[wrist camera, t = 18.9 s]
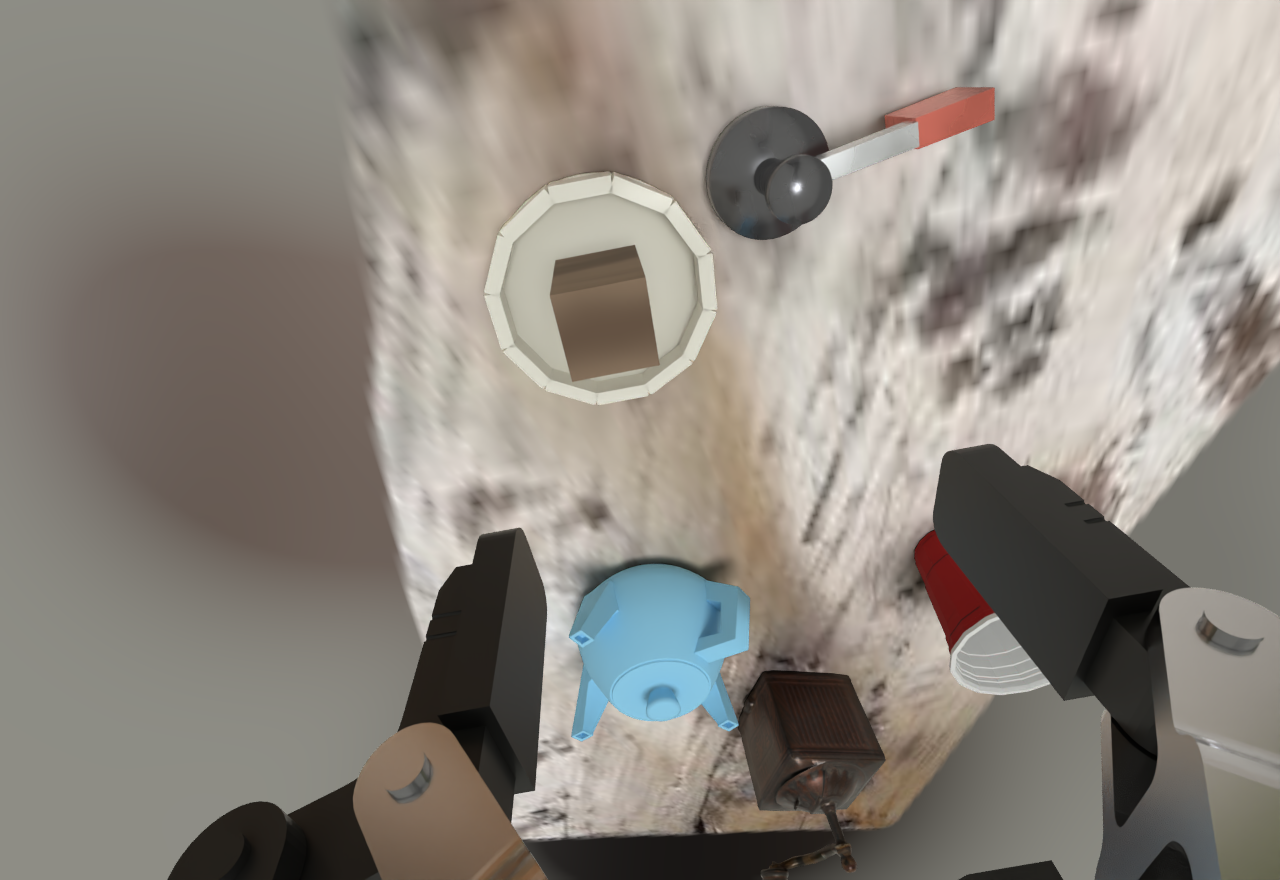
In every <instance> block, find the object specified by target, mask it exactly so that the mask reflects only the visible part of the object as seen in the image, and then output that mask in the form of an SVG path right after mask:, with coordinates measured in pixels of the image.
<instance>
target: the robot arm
mask: <svg viewBox="0 0 1280 880" xmlns="http://www.w3.org/2000/svg"><path fill="white" fill-rule="evenodd" d="M933 523H934V528H935V532H936V534H937V537H938V539H939V541H940V543H941V545H942V546H943V547H944V549H945V550H946V551H947V552H948V554H949V555H950V556H951V558H952V559H953V560H954V561H955V563H956V564H957V565H958V567H959V568H960V569H961V570H962V572H963V573H964V574H965V575H966V577H967V578H968V579H969V581H970V582H971V583H972V584H973V586H974V587H975V588H976V589H977V591H978V592H979V593H980V595H981V596H982V597H983V598H984V600H985V601H986V602H987V603H988V605H989V606H990V607H991V609H992V610H993V611H994V612H995V614H996V615H997V616H998V617H999V619H1000V620H1001V621H1002V623H1003V624H1004V625H1005V626H1006V628H1007V629H1008V630H1009V631H1010V633H1011V634H1012V635H1013V637H1014V638H1015V639H1016V640H1017V642H1018V643H1019V644H1020V645H1021V647H1022V648H1023V649H1024V651H1025V652H1026V653H1027V654H1028V656H1029V657H1030V658H1031V659H1032V661H1033V662H1034V663H1035V665H1036V666H1037V667H1038V668H1039V670H1040V671H1041V672H1042V673H1043V675H1044V676H1045V677H1046V679H1047V680H1048V681H1049V682H1050V684H1051V685H1052V686H1053V687H1054V689H1055V690H1056V691H1057V693H1058V694H1059V695H1060V696H1061V698H1062V699H1063V700H1064V701H1065V700H1070V699H1076V698H1082V697H1088V696H1093V695H1095V696H1096V698H1097V699H1098V700H1099V701H1100V702H1101V703H1102V705H1103V706H1104V707H1105V710H1104V712H1103V714H1102V717H1101V754H1102V793H1103V794H1102V795H1103V843H1102V850H1101V854H1100V858H1099V861H1098V865H1097V869H1096V874H1095V880H1280V617H1279V616H1277V615H1276V614H1274V613H1273V612H1271V611H1270V610H1268V609H1266V608H1264V607H1262V606H1260V605H1258V604H1256V603H1254V602H1252V601H1250V600H1247V599H1245V598H1242V597H1239V596H1237V595H1234V594H1230V593H1227V592H1223V591H1219V590H1214V589H1207V588H1191V587H1189V586H1188V585H1187V584H1185V583H1184V582H1183V581H1182V580H1181V579H1179V578H1178V577H1177V576H1176V575H1174V574H1173V573H1172V572H1171V571H1170V570H1168V569H1167V568H1166V567H1165V566H1164V565H1162V564H1161V563H1160V562H1159V561H1157V560H1156V559H1155V558H1154V557H1153V556H1151V555H1150V554H1149V553H1148V552H1147V551H1145V550H1144V549H1143V548H1142V547H1140V546H1139V545H1138V544H1137V543H1136V542H1134V541H1133V540H1132V539H1131V538H1130V537H1128V536H1127V535H1126V534H1125V533H1123V532H1122V531H1121V530H1120V529H1119V528H1117V527H1116V526H1115V525H1114V524H1112V523H1111V522H1110V521H1105V520H1104V516H1103V515H1102V514H1100V513H1099V512H1098V511H1097V510H1095V509H1094V508H1093V507H1092V506H1091V505H1089V504H1085V503H1084V500H1083V499H1082V498H1081V497H1080V496H1078V495H1077V494H1076V493H1075V492H1074V491H1072V490H1071V489H1070V488H1069V487H1067V486H1066V485H1065V484H1064V483H1063V482H1061V481H1060V480H1058V479H1056V478H1054V477H1052V476H1050V475H1048V474H1045V473H1043V472H1041V471H1039V470H1037V469H1035V468H1033V467H1030V466H1028V465H1027V466H1020V465H1019V464H1017V463H1016V462H1015V461H1014V460H1013V459H1012V458H1011V457H1009V456H1008V455H1007V454H1006V453H1005V452H1004V451H1002V450H1001V449H1000V448H999V447H997V446H995V445H993V444H985V445H980V446H974V447H969V448H963V449H958V450H952V451H948V452H947V453H945V455H944V456H943V459H942V463H941V469H940V475H939V481H938V487H937V493H936V499H935V505H934V511H933ZM546 622H547V603H546V595H545V590H544V586H543V582H542V580H541V577H540V574H539V571H538V569H537V566H536V563H535V560H534V558H533V555H532V552H531V550H530V547H529V544H528V541H527V539H526V536H525V534H524V532H523V530H522V529H521V528H515V529H510V530H504V531H499V532H493V533H487V534H482V535H481V536H480V537H479V539H478V542H477V546H476V550H475V555H474V559H473V563H472V564H471V565H465V566H460V567H456V568H455V569H454V571H453V572H452V573H451V575H450V576H449V578H448V579H447V580H446V582H445V583H444V584H443V586H442V587H441V588H440V590H439V592H438V596H437V599H436V603H435V606H434V610H433V613H432V620H430V624H429V627H428V631H427V634H426V641H425V642H424V644H423V648H422V651H421V655H420V658H419V662H418V665H417V669H416V672H415V676H414V679H413V683H412V686H411V690H410V694H409V697H408V701H407V704H406V707H405V711H404V714H403V718H402V721H401V724H400V727H399V729H398V732H397V733H395V734H394V735H392V736H391V737H389V738H388V739H387V740H386V741H385V742H383V743H382V744H381V745H380V746H379V747H378V748H377V749H376V750H375V751H374V752H373V754H372V755H371V756H370V758H369V759H368V760H367V762H366V763H365V765H364V767H363V768H362V770H361V772H360V774H359V777H358V778H357V779H355V780H354V781H352V782H351V783H349V784H347V785H345V786H344V787H342V788H340V789H338V790H336V791H334V792H332V793H330V794H328V795H326V796H324V797H322V798H320V799H318V800H316V801H314V802H312V803H310V804H308V805H306V806H304V807H302V808H300V809H298V810H296V811H294V812H292V813H290V814H288V815H287V814H286V813H285V812H284V811H282V810H281V809H280V808H279V807H278V806H276V805H275V804H273V803H269V802H253V803H249V804H246V805H242V806H240V807H238V808H236V809H234V810H232V811H230V812H228V813H226V814H225V815H223V816H222V817H220V818H219V819H217V820H216V821H215V822H213V823H212V824H211V825H210V826H209V827H207V828H206V829H205V830H204V831H203V832H202V833H201V834H200V835H199V836H198V837H197V838H196V839H195V840H194V841H193V842H192V843H191V844H190V846H189V847H188V848H187V850H186V851H185V852H184V853H183V854H182V856H181V857H180V859H179V860H178V862H177V863H176V865H175V866H174V868H173V870H172V872H171V874H170V876H169V878H168V880H548V879H547V877H546V876H545V874H544V873H543V871H542V869H541V868H540V866H539V865H538V863H537V862H536V860H535V859H534V857H533V856H532V854H531V853H530V851H529V850H528V849H527V847H526V846H525V844H524V843H523V841H522V839H521V838H520V836H519V835H518V833H517V832H516V830H515V829H514V827H513V826H512V824H511V820H512V809H513V799H514V794H518V793H524V792H530V791H535V782H536V768H537V753H538V739H539V724H540V709H541V695H542V680H543V666H544V651H545V637H546ZM959 880H1063V879H1062V877H1061V875H1060V874H1059V872H1058V870H1057V869H1056V867H1055V865H1054V864H1053V862H1052V861H1045V862H1039V863H1034V864H1027V865H1022V866H1016V867H1010V868H1004V869H998V870H992V871H986V872H981V873H975V874H969V875H966V876H964V877H962V878H961V879H959Z"/></svg>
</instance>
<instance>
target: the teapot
mask: <svg viewBox="0 0 1280 880" xmlns="http://www.w3.org/2000/svg"><path fill="white" fill-rule="evenodd" d="M749 617H750V598H749V597H748V596H747V595H746V594H745V593H744V592H743V591H742V590H741V589H740V588H739V587H737V586H732V585H727V584H722V583H717V582H712V581H707V580H706V579H704V578H703V577H701V576H699V575H697V574H695V573H693V572H691V571H689V570H686V569H684V568H681V567H677V566H673V565H668V564H644V565H638V566H634V567H630V568H628V569H625V570H622V571H620V572H618V573H616V574H614V575H613V576H611V577H610V578H608V579H606V580H605V581H604V582H602V583H601V584H600V585H599V586H597V587H596V588H595V589H594V590H593V591H592V592H590V593H589V594H587V595H586V596H584V599H583V601H582V604H581V606H580V609H579V611H578V614H577V616H576V619H575V621H574V624H573V626H572V629H571V631H570V634H569V638H570V639H571V640H573V641H574V642H576V643H577V644H578V647H579V650H580V654H581V657H582V660H583V663H584V665H583V670H582V676H581V682H580V688H579V694H578V700H577V706H576V712H575V717H574V723H573V729H572V736H571V737H573V738H575V739H577V740H579V741H583V740H585V739H587V738H589V737H591V736H593V732H594V730H595V728H596V726H597V724H598V722H599V720H600V717H601V715H602V713H603V711H604V709H605V707H606V705H607V703H608V701H609V702H610V703H611V704H612V705H613V706H614V707H615V708H617V709H618V710H619V711H620V712H622V713H623V714H625V715H627V716H629V717H632V718H635V719H639V720H645V721H667V720H671V719H673V718H677V717H680V716H682V715H685V714H687V713H689V712H691V711H692V710H694V709H695V708H697V707H698V706H699V705H700V704H702V705H703V707H704V708H705V709H706V710H707V711H708V713H709V714H710V715H711V716H712V717H713V719H714V720H715V721H716V722H717V724H718V726H719V727H721V728H723V729H725V730H727V731H730V730H732V729H734V728H735V727H737V726H738V725H739V724H738V721H737V718H736V715H735V713H734V710H733V707H732V704H731V702H730V699H729V696H728V694H727V691H726V688H725V685H724V683H723V680H722V677H721V674H720V670H721V667H722V664H723V661H724V658H726V657H729V656H732V655H735V654H738V653H741V652H744V651H747V650H748V646H749Z"/></svg>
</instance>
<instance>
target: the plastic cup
mask: <svg viewBox="0 0 1280 880" xmlns="http://www.w3.org/2000/svg"><path fill="white" fill-rule="evenodd" d="M914 559H915V561H916V566H917V568H918V570H919V572H920V574H921V577H922V579H923V581H924V583H925V588H926V590H927V593H928V595H929V598H930V600H931V602H932V605H933V607H934V609H935V612H936V614H937V616H938V619H939V621H940V624H941V626H942V628H943V631H944V633H945V635H946V641H947V643H948V646H949V652H950V665H949V667H950V672H951V673H952V675H953V676H954V677H955V679H956V680H957V682H958V683H959V685H962V686H964V687H966V688H968V689H970V690H973V691H975V692H977V693H986V694H996V695H1005V694H1012V693H1019V692H1027V691H1031V690H1033V689H1036V688H1040V687H1042V686H1045V685H1048V684H1050V682H1049V681H1048V680H1047V679H1046V677H1045V676H1044V675H1043V673H1042V672H1041V671H1040V670H1039V668H1038V667H1037V666H1036V665H1035V663H1034V662H1033V661H1032V659H1031V658H1030V657H1029V656H1028V654H1027V653H1026V652H1025V651H1024V649H1023V648H1022V647H1021V645H1020V644H1019V643H1018V642H1017V640H1016V639H1015V638H1014V637H1013V635H1012V634H1011V633H1010V631H1009V630H1008V629H1007V628H1006V626H1005V625H1004V624H1003V623H1002V621H1001V620H1000V619H999V617H998V616H997V615H996V614H995V612H994V611H993V610H992V609H991V607H990V606H989V605H988V603H987V602H986V601H985V600H984V598H983V597H982V596H981V595H980V593H979V592H978V591H977V589H976V588H975V587H974V586H973V584H972V583H971V582H970V581H969V579H968V578H967V577H966V575H965V574H964V573H963V572H962V570H961V569H960V568H959V567H958V565H957V564H956V563H955V561H954V560H953V559H952V558H951V556H950V555H949V554H948V552H947V551H946V550H945V549H944V547H943V546H942V545H941V543H940V541H939V539H938V537H937V534H936V532H935V530H933V531H931V532H930V533H928V534H927V535H926V536H925V537H924V538H923V539H921V540H920V541H919V543H918V545H917V547H916V549H915V555H914Z"/></svg>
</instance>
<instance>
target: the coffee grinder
mask: <svg viewBox="0 0 1280 880" xmlns="http://www.w3.org/2000/svg"><path fill="white" fill-rule="evenodd" d="M738 729H739V731H740V733H741V737H742V742H743V746H744V750H745V754H746V758H747V762H748V767H749V771H750V775H751V779H752V783H753V787H754V791H755V795H756V799H757V804H758V808H759V810H768V811H798V810H802V811H806V812H810V814H825V815H826V816H827V819H828V822H829V824H830V827H831V830H832V833H833V836H834V839H835V841H836V844H829V845H827V846H825V847H823V848H822V849H820V850H818V851H815V852H813V853H810V854H805V855H801V856H796V857H792V858H790V859H788V860H786V861H784V862H782V863H776V862H774V861H773V862H772V865H770V867H769V869H765V870H762V871H761V877H762V878H763V880H787V877H788V871H787V869H791V868H794V867H799V866H803V865H808V864H813V863H818V862H820V861H822V860H825V859H827V858H828V857H830V856H832V855H834V854H836V853H837V854H838V856H840V857H841V863H842V867H843V869H844V870H845V871H846V872H847V873H852V872H855V870H856V866H857V864H856V862H855V860H854V858H853V857H852V856H851V853H852V849H851V845H850V844H849V843H846V841H845V838H844V836H843V833H842V830H841V827H840V825H839V822H838V819H837V815H836V810H837V809H847V808H848V807H849V806H850V804H851V803H852V802H853V801H854V800H855V798H856V797H857V796H858V794H859V793H860V792H861V791H862V789H863V788H864V787H865V786H866V784H867V783H868V782H869V781H870V779H871V778H872V777H873V776H874V774H875V773H876V772H877V771H878V769H879V768H880V767H881V766H882V764H883V763H884V762H885V761H886V760H885V756H884V754H883V751H882V749H881V747H880V745H879V743H878V741H877V738H876V736H875V734H874V732H873V730H872V727H871V725H870V723H869V721H868V718H867V716H866V714H865V712H864V710H863V707H862V705H861V703H860V701H859V699H858V696H857V694H856V692H855V690H854V687H853V685H852V683H851V679H850V678H849V676H846V675H838V674H828V673H810V672H791V671H767V672H763V674H762V675H761V677H760V679H759V680H758V682H757V684H756V685H755V687H754V689H753V690H752V692H751V693H750V695H749V697H748V698H747V700H746V702H745V705H744V707H743V711H742V714H741V716H740V720H739V726H738Z"/></svg>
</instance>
